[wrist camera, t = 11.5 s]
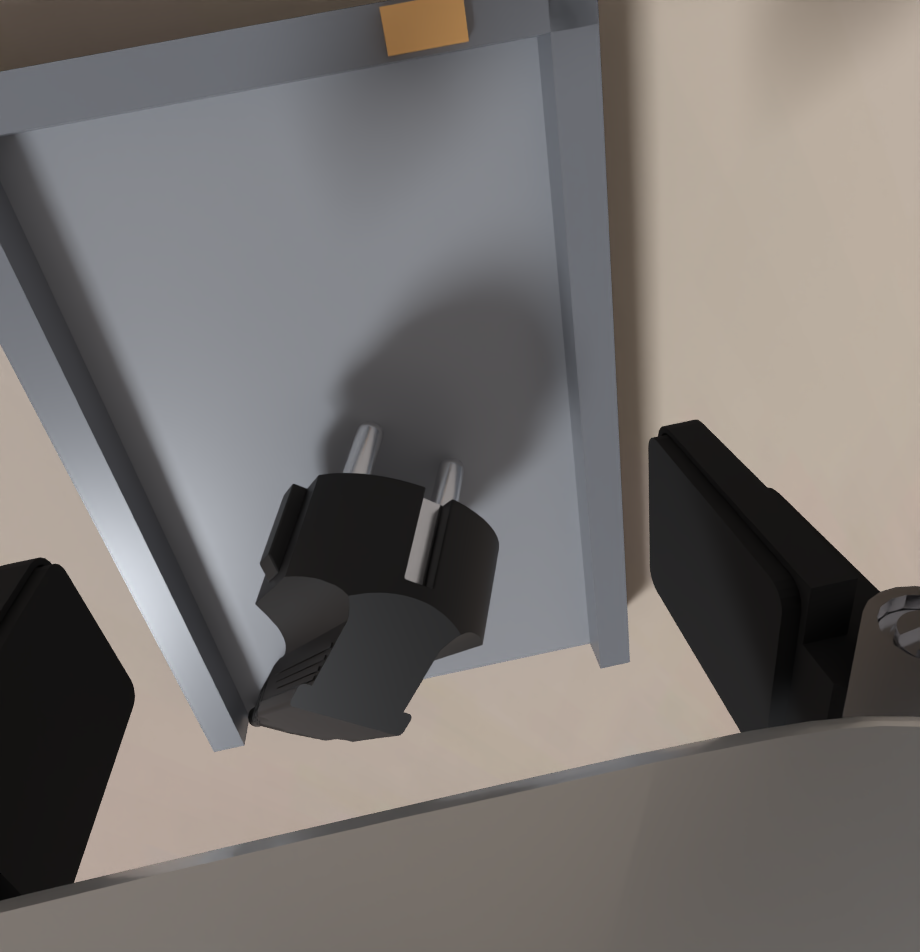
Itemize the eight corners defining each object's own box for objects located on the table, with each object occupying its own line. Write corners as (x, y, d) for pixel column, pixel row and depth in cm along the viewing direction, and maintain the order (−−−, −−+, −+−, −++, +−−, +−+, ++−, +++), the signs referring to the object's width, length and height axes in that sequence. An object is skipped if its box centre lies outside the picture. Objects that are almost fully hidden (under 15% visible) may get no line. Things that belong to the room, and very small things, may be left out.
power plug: (164, 719, 22) (247, 670, 12) (244, 511, 25) (356, 345, 16) (328, 761, 24) (514, 747, 14) (380, 561, 27) (555, 441, 18)
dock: (-72, 95, 15) (-141, 95, 13) (568, -22, 15) (600, -40, 13) (224, 704, 24) (212, 759, 22) (610, 622, 24) (632, 668, 22)
